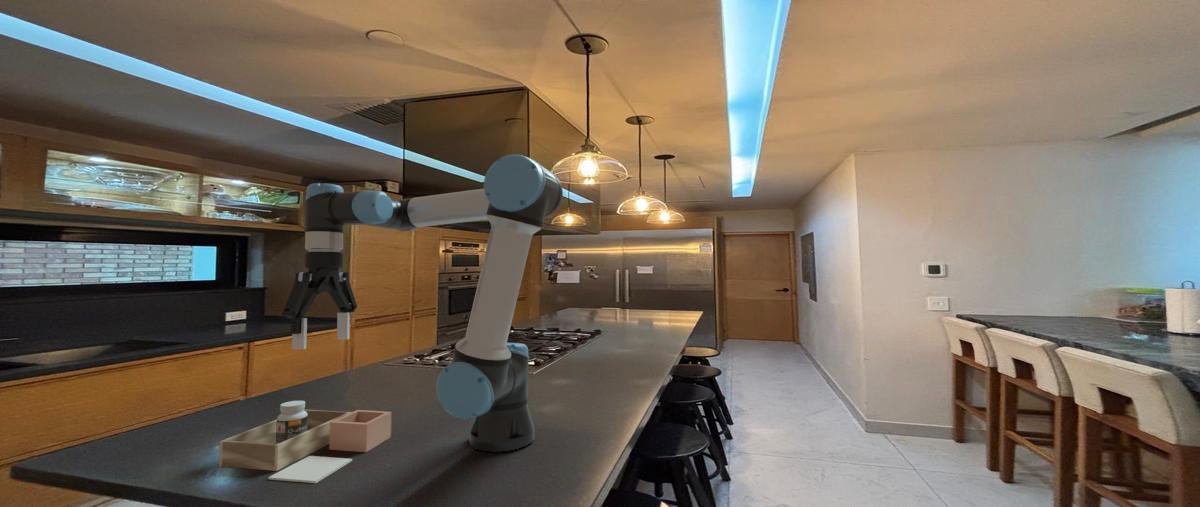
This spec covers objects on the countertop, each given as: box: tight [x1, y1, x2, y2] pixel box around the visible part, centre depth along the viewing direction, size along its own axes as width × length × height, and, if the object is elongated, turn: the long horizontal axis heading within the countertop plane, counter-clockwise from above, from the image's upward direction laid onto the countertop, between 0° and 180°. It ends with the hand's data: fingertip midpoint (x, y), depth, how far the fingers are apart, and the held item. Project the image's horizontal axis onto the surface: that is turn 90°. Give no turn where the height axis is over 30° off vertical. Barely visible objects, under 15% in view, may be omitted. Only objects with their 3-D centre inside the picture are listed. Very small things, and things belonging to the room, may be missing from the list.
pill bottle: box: [275, 400, 308, 444], centre depth 100 cm, size 6×6×10 cm
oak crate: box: [218, 408, 352, 472], centre depth 100 cm, size 21×13×5 cm, turn 172°
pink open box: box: [328, 409, 393, 453], centre depth 103 cm, size 9×9×6 cm
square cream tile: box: [267, 455, 353, 484], centre depth 89 cm, size 10×10×1 cm
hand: (322, 344), depth 102 cm, fingers open, 13 cm apart
